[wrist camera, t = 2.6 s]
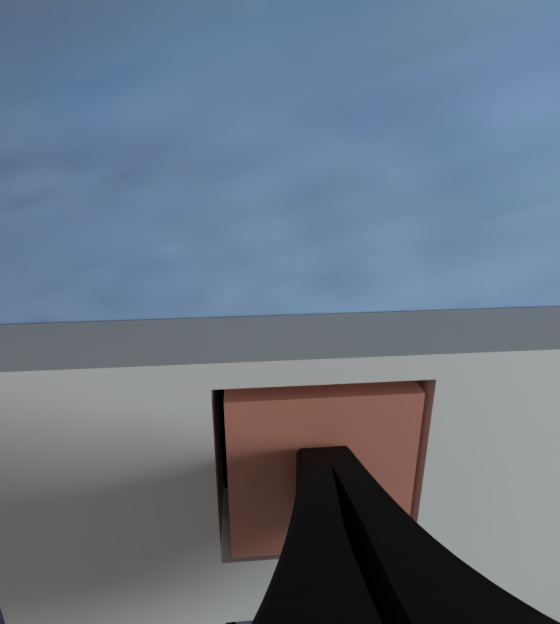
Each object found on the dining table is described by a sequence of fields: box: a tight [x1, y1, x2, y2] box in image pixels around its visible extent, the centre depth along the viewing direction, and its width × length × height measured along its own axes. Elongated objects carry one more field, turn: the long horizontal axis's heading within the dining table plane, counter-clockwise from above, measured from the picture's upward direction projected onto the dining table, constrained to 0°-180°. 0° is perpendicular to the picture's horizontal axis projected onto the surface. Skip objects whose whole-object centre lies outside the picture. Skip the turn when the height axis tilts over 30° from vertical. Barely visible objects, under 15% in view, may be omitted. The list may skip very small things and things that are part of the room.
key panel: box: [0, 306, 560, 624], centre depth 15 cm, size 15×18×3 cm
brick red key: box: [224, 380, 425, 558], centre depth 13 cm, size 5×5×3 cm
